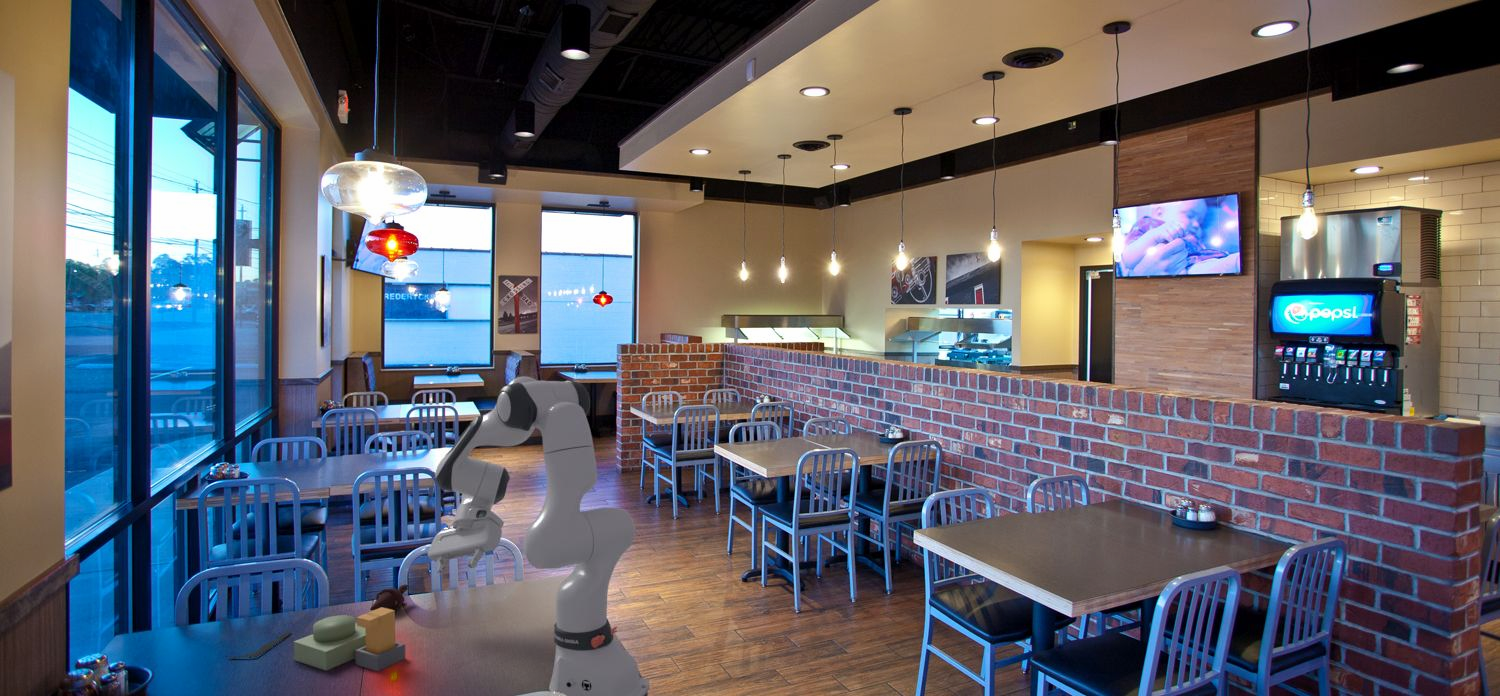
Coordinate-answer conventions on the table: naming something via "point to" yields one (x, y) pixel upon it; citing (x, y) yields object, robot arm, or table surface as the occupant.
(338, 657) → the green and grey blocks
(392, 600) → the dark brown rounded piece
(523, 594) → the table surface
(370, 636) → the tall tan cardboard block
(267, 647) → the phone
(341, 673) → the table surface
